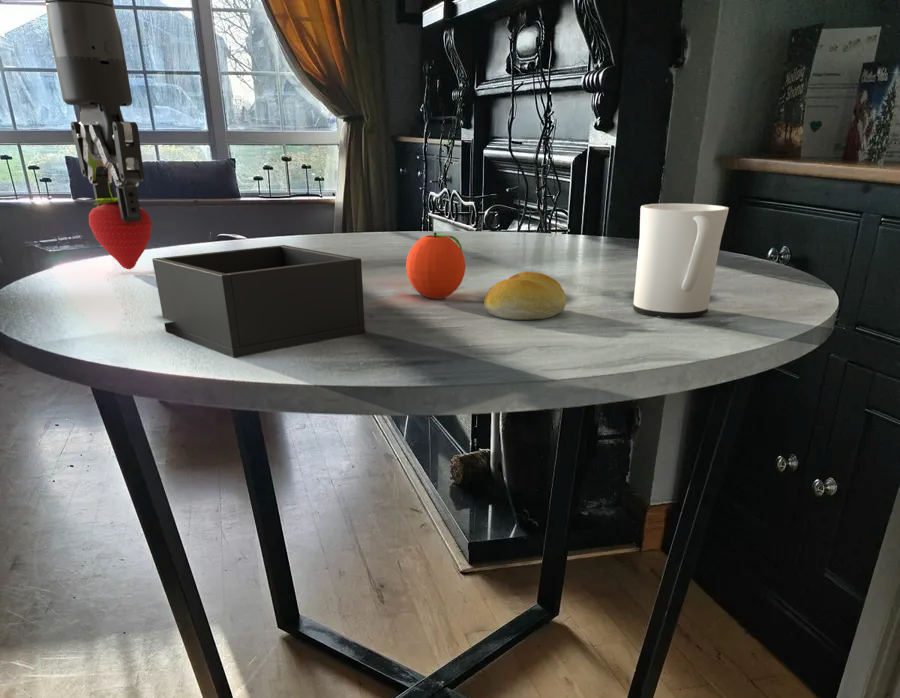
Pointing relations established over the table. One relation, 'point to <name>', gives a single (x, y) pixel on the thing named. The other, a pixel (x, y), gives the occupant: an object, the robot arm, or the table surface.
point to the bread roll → (526, 297)
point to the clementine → (436, 265)
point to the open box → (260, 298)
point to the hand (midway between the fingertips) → (120, 219)
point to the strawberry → (119, 231)
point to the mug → (677, 258)
